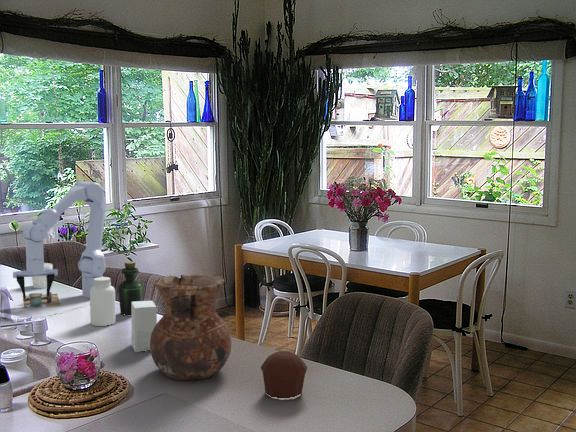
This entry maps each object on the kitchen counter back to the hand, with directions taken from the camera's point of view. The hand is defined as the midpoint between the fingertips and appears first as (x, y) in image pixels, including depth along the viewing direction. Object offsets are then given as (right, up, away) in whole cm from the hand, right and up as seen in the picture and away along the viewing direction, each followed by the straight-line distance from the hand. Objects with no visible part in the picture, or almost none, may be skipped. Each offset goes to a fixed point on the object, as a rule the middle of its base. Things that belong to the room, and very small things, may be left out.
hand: (36, 296), depth 235 cm
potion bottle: (+34, -6, -2) cm, 34 cm away
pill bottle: (+28, -7, -15) cm, 32 cm away
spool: (0, -5, +1) cm, 5 cm away
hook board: (-1, -4, +8) cm, 8 cm away
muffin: (+87, -15, -72) cm, 114 cm away
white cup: (-9, -1, +30) cm, 31 cm away
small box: (+46, -10, -39) cm, 61 cm away
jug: (+63, -13, -58) cm, 87 cm away
